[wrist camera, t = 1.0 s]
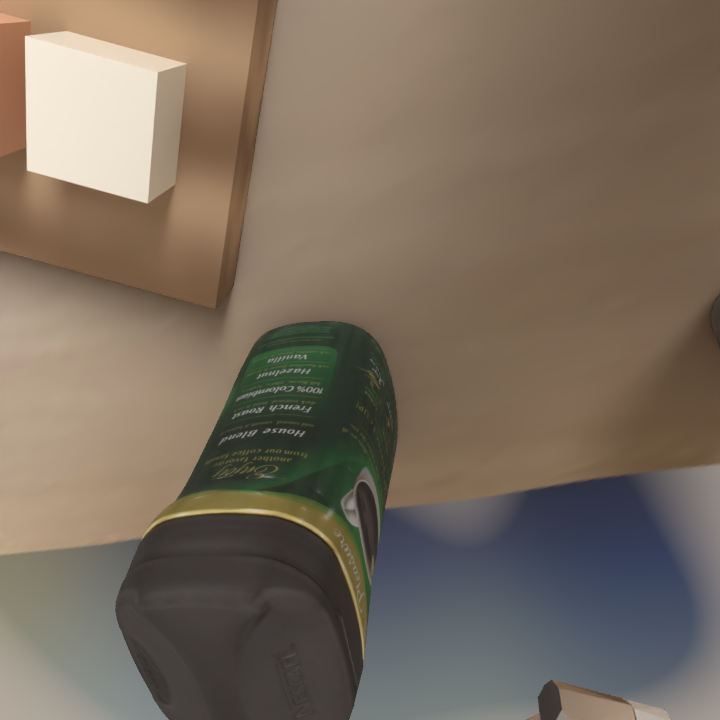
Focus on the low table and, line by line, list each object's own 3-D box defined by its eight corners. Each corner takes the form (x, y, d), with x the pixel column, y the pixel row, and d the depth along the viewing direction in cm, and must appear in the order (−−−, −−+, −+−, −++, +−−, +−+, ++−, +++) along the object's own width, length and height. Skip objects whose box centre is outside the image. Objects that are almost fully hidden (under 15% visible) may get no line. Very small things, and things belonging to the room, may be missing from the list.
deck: (-99, -179, 27) (-159, -196, 25) (288, -73, 27) (269, -79, 25) (-66, 203, 35) (-108, 220, 33) (233, 285, 35) (215, 309, 32)
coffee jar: (237, 321, 36) (54, 593, 20) (383, 307, 35) (314, 589, 19) (276, 467, 41) (153, 785, 25) (408, 461, 39) (369, 795, 23)
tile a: (66, 30, 27) (24, 35, 25) (186, 63, 27) (157, 72, 25) (65, 154, 30) (27, 170, 27) (175, 184, 30) (147, 203, 27)
